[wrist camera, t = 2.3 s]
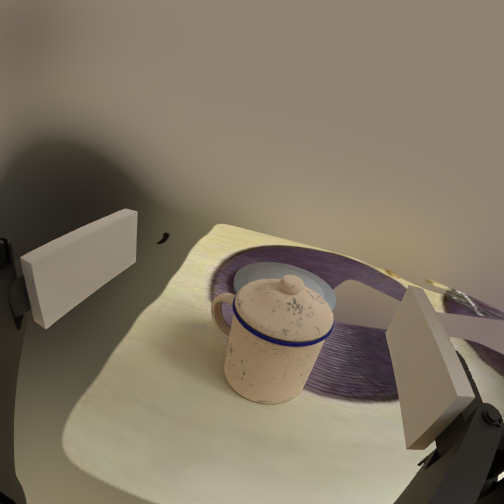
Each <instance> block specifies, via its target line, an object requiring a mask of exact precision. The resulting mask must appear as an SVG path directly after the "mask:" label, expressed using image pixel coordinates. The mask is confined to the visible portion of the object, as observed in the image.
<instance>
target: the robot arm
mask: <svg viewBox="0 0 504 504" xmlns="http://www.w3.org/2000/svg"><path fill="white" fill-rule="evenodd" d="M136 233H137V211H133V210H129V209H123V210H121V211H118V212H116V213H114V214H111V215H109V216H107V217H104V218H102V219H99V220H97V221H95V222H92V223H90V224H88V225H86V226H83V227H81V228H79V229H77V230H75V231H73V232H70V233H68V234H66V235H64V236H62V237H60V238H58V239H55V240H53V241H52V242H49V243H47V244H45V245H43V246H41V247H39V248H37V249H35V250H33V251H31V252H29V253H27V254H26V255H24V256H22V257H21V258H20V259H18V260H17V261H15V262H14V257H13V251H12V244H11V240H10V238H8V237H3V236H0V504H26V498H25V494H24V491H23V489H22V486H21V484H20V482H19V481H18V479H17V477H16V473H15V466H14V407H15V395H16V384H17V376H18V369H19V362H20V355H21V350H22V344H23V339H24V334H25V330H26V325H27V314H26V312H27V311H28V310H30V309H31V310H32V314H33V317H34V321H35V322H37V323H38V324H39V325H41V326H42V327H44V328H45V329H47V328H48V327H49V326H51V325H52V324H53V323H54V322H56V321H57V320H58V319H60V318H61V317H62V316H63V315H65V314H66V313H67V312H68V311H70V310H71V309H72V308H74V307H75V306H76V305H78V304H79V303H80V302H81V301H83V300H84V299H85V298H87V297H88V296H89V295H91V294H92V293H93V292H95V291H96V290H97V289H98V288H100V287H101V286H103V285H104V284H106V283H107V282H108V281H110V280H111V279H112V278H114V277H115V276H117V275H118V274H119V273H121V272H122V271H123V270H125V269H126V268H128V267H129V266H130V265H132V264H133V263H135V262H136ZM386 338H387V342H388V346H389V351H390V355H391V360H392V364H393V369H394V374H395V379H396V384H397V389H398V395H399V400H400V406H401V412H402V419H403V426H404V433H405V441H406V449H412V450H424V449H426V448H427V447H428V446H429V445H430V444H431V443H432V442H433V441H434V440H435V442H436V447H437V448H436V449H435V450H434V451H433V452H431V453H430V454H429V455H428V456H427V457H426V458H424V459H423V460H422V461H421V462H420V463H419V464H418V466H420V465H422V464H423V463H424V464H423V466H422V467H421V468H420V470H419V471H418V473H417V474H416V476H415V477H414V478H413V480H412V481H411V482H410V484H409V485H408V486H407V488H406V489H405V490H404V491H403V493H402V494H401V495H400V496H399V498H398V499H397V500H396V501H395V502H394V504H504V478H502V479H501V480H500V481H498V475H499V474H501V473H502V472H503V471H504V423H503V419H502V416H501V414H500V412H499V411H498V410H497V409H496V408H495V407H494V406H492V405H490V404H488V403H483V402H482V399H481V397H480V394H479V392H478V389H477V387H476V384H475V382H474V380H473V379H472V375H471V373H470V371H468V370H469V369H468V366H467V364H466V362H465V360H464V359H463V357H462V356H461V355H460V354H459V353H458V351H456V350H455V349H454V347H453V345H452V343H451V341H450V339H449V337H448V335H447V333H446V331H445V329H444V327H443V325H442V323H441V321H440V319H439V318H438V316H437V314H436V312H435V310H434V308H433V306H432V305H431V303H430V301H429V299H428V297H427V296H426V294H425V292H424V290H423V289H421V288H418V287H414V286H411V285H409V286H408V288H407V291H406V293H405V295H404V297H403V299H402V301H401V304H400V306H399V308H398V310H397V312H396V314H395V316H394V318H393V320H392V322H391V324H390V326H389V328H388V330H387V332H386Z"/></svg>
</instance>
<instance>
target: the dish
mask: <svg viewBox="0 0 504 504" xmlns="http://www.w3.org/2000/svg"><path fill="white" fill-rule="evenodd" d="M285 275H294V276H297V277H299V278H301V279H302V281H303V283H304V286H305V287H307V288H309V289H311V290H313V291H314V292H316V293H317V294H319V295H320V296H321V297H322V298H323V299H324V300H325V301H326V302H327V303H328V305H329V306H330V308H331V310H332V313H333V310H334V307H335V304H336V296H335V293H334V291H333V290H332V288H331V287H330V286H329V285H328V284H327V283H326V282H325V281H323V280H322V279H321V278H319V277H318V276H316V275H314V274H312V273H310V272H308V271H306V270H304V269H301V268H298V267H295V266H291V265H287V264H282V263H274V262H260V263H253V264H249V265H246V266H244V267H242V268H241V269H239V270H238V271H237V273H236V274H235V277H234V283H233V291H234V294H235V295H236V294H237V292H238V291H239V290H240V289H241V288H242V287H243V286H244V285H246V284H248V283H250V282H253V281H256V280H261V279H280V280H281V278H282V277H283V276H285Z"/></svg>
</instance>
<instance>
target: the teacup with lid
mask: <svg viewBox="0 0 504 504" xmlns="http://www.w3.org/2000/svg"><path fill="white" fill-rule="evenodd" d="M222 302H226V303H229V304H230V305H232V306H233V312H234V314H233V319H232V325H231V327H230V326H229V325H228V324H227V323H226V322H225V320H224V317H223V314H222V308H221V307H222ZM211 312H212V318H213V321H214V323H215V325H216V327H217V329H218V330H219V331H220V332H221V333H222V334H223V335H224V336H225V337H227V338H228V339H229V341H228V347H227V352H226V358H225V363H224V373H225V377H226V379H227V381H228V383H229V384H230V386H231V387H232V388H233V389H234V390H235V391H236V392H237V393H239V394H240V395H241V396H243V397H245V398H247V399H249V400H251V401H254V402H258V403H263V404H278V403H283V402H286V401H289V400H291V399H292V398H294V397H295V396H297V395H298V394H299V393H300V391H301V390H302V389H303V387H304V385H305V383H306V381H307V378H308V376H309V374H310V372H311V370H312V368H313V366H314V363H315V361H316V359H317V357H318V355H319V352H320V350H321V348H322V346H323V343H324V341H325V339H326V338H327V337H328V336H329V335H330V333H331V331H332V329H333V313H332V310H331V308H330V306H329V305H328V303H327V302H326V301H325V300H324V299H323V298H322V297H321V296H320V295H319V294H317V293H316V292H314V291H313V290H311V289H309V288H307V287H305V286H304V283H303V281H302V279H301V278H299V277H297V276H294V275H285V276H283V277H282V278H281V280H280V279H261V280H256V281H253V282H250V283H248V284H246V285H244V286H243V287H242V288H241V289H240V290H239V291H238V292H237V294H236V295H234V294H232V293H222V294H220V295H218V296H217V297H215V299H214V300H213V302H212V307H211Z"/></svg>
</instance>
